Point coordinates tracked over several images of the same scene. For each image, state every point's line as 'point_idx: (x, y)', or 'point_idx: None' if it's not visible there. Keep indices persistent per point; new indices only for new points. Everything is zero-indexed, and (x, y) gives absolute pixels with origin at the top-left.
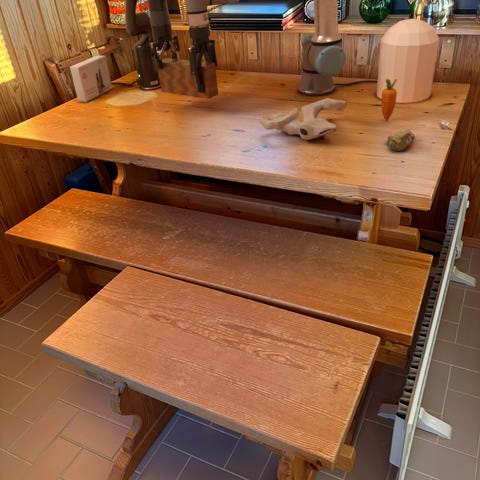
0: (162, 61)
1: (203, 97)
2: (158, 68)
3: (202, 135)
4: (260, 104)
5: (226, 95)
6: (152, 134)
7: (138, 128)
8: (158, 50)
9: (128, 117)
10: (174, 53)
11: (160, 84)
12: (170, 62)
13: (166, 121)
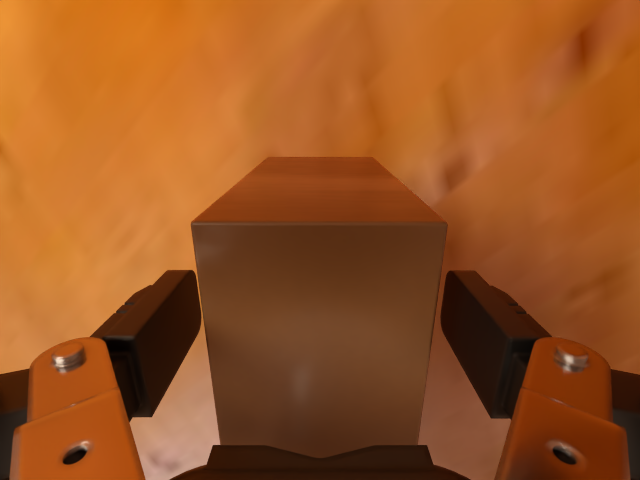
0: (248, 310)
1: None
2: (167, 275)
3: (158, 452)
4: (489, 461)
5: (578, 294)
6: (45, 305)
7: (39, 199)
8: (117, 471)
9: (90, 3)
10: (510, 416)
11: (257, 166)
12: (252, 444)
13: (176, 260)
